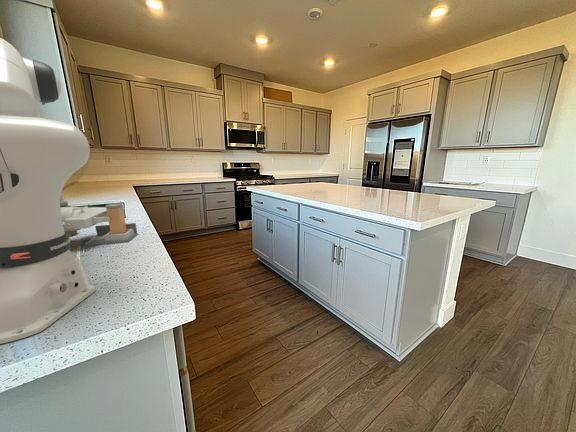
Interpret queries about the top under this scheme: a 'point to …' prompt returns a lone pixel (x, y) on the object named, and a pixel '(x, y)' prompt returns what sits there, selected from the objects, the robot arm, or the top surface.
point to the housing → (112, 235)
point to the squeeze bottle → (65, 203)
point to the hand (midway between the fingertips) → (115, 216)
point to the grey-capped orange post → (116, 218)
